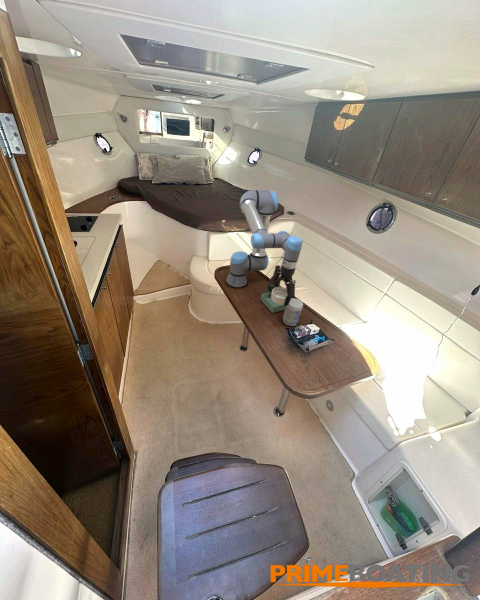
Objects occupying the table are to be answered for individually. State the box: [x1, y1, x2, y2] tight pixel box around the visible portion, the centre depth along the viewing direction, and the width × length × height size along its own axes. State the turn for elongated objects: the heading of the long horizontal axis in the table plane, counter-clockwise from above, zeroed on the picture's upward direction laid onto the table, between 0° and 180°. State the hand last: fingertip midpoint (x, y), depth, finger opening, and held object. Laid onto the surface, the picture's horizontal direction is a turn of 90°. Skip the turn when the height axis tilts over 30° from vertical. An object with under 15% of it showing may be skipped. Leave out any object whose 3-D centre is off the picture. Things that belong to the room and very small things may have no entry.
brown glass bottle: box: [266, 265, 281, 298], centre depth 169 cm, size 8×8×24 cm
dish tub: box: [259, 292, 286, 314], centre depth 168 cm, size 15×15×5 cm
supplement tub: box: [282, 297, 304, 327], centre depth 152 cm, size 10×10×15 cm
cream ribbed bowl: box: [271, 286, 287, 305], centre depth 143 cm, size 11×11×5 cm
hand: (280, 299), depth 144 cm, fingers closed on cream ribbed bowl, 11 cm apart
